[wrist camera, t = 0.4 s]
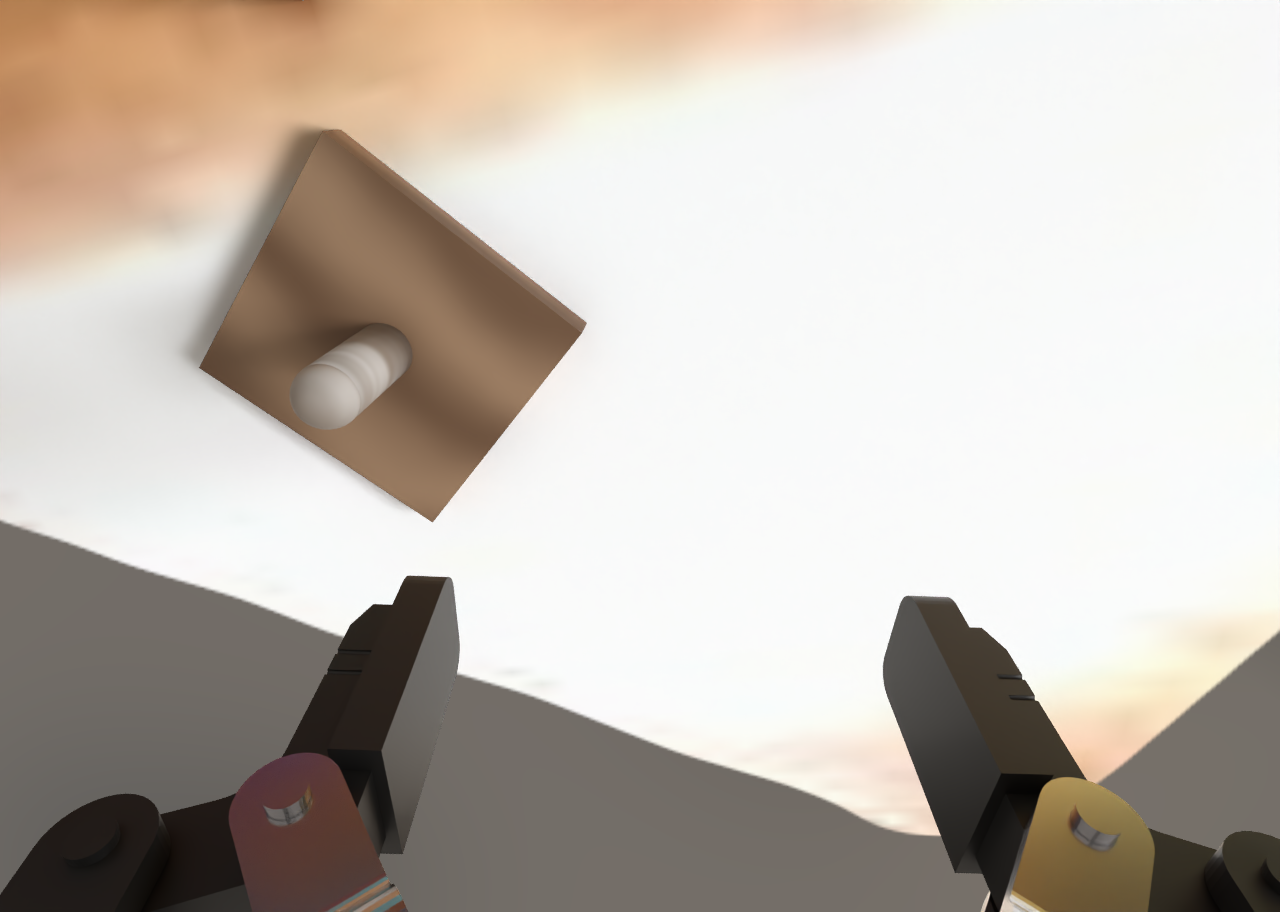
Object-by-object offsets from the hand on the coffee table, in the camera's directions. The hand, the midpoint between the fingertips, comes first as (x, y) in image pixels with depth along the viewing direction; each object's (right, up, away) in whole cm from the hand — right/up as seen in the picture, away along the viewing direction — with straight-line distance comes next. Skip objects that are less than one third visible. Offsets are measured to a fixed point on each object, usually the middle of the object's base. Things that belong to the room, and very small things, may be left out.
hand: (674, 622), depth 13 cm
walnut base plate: (-11, +8, +18) cm, 23 cm away
